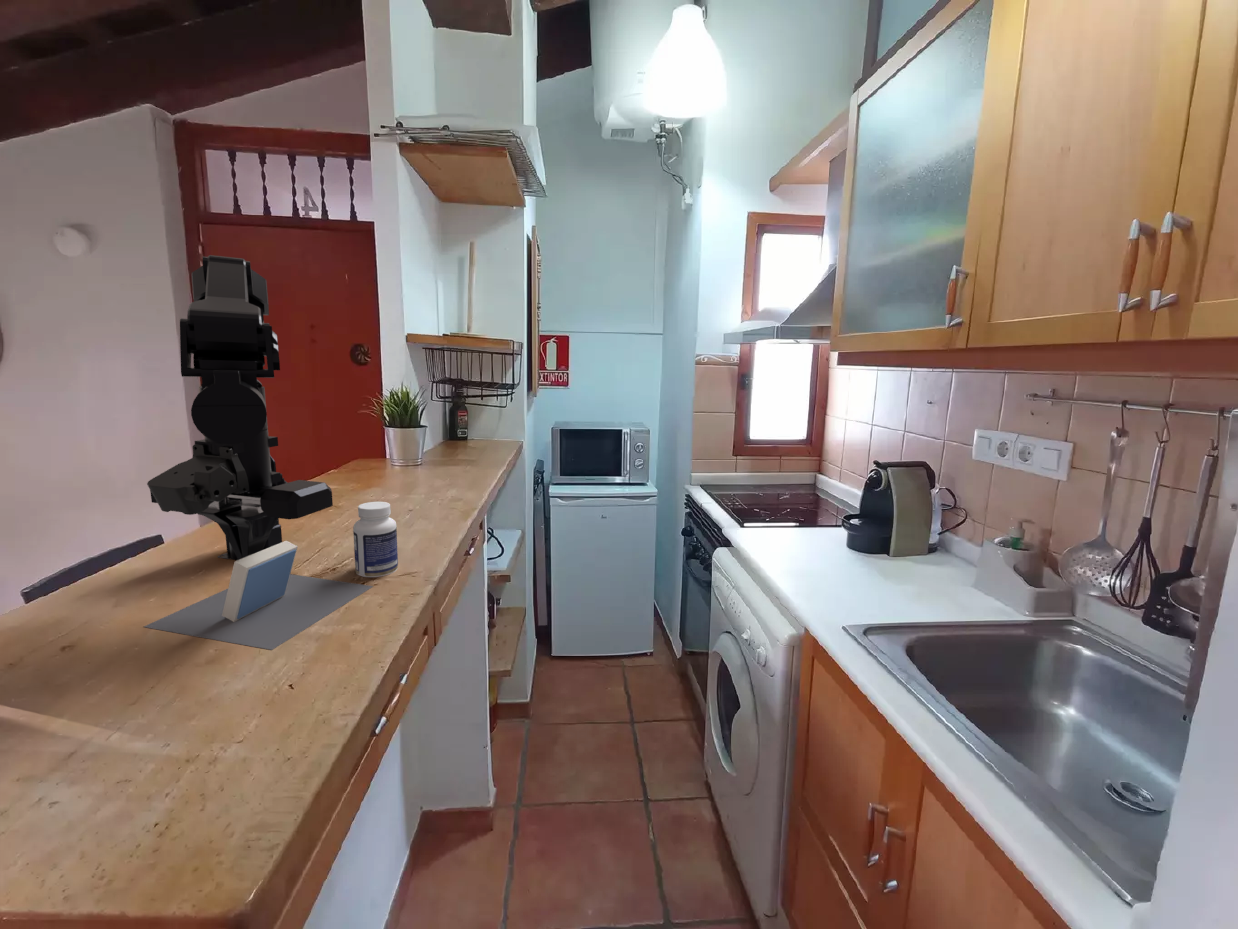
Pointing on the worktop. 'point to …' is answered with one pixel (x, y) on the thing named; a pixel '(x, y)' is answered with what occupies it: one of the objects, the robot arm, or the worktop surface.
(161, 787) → the worktop surface
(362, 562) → the pill bottle
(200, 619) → the mat
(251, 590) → the tile
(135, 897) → the worktop surface
